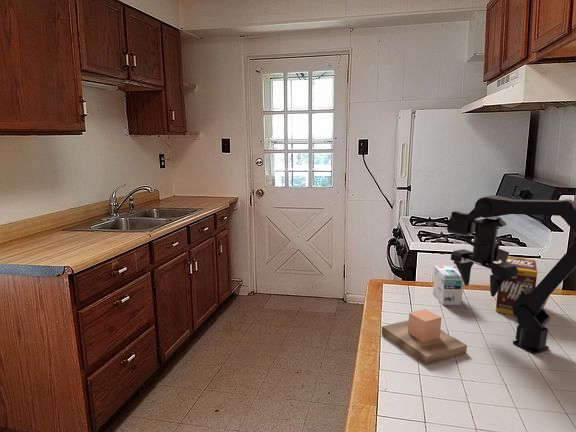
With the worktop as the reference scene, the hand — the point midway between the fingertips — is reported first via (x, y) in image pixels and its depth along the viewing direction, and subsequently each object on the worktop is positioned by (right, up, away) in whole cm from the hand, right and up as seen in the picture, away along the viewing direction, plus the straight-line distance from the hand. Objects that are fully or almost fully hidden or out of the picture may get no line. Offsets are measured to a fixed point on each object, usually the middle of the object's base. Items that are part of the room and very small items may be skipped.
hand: (479, 290), depth 122 cm
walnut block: (-19, -14, -6) cm, 25 cm away
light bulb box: (-1, -8, +24) cm, 25 cm away
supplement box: (+20, -9, +18) cm, 29 cm away
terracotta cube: (-19, -11, -7) cm, 23 cm away
